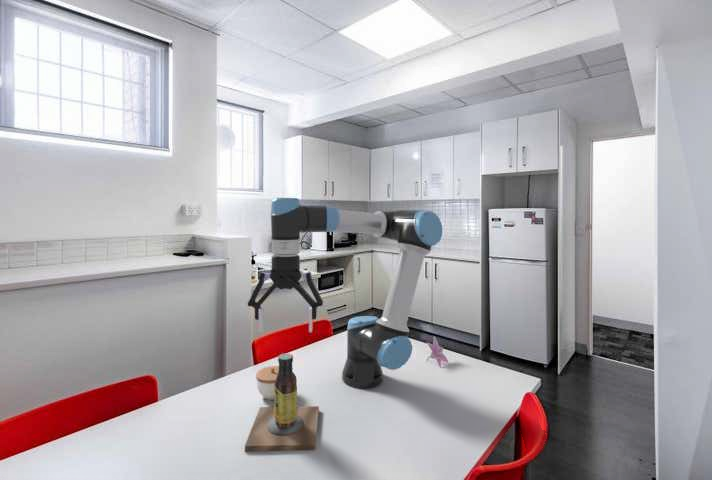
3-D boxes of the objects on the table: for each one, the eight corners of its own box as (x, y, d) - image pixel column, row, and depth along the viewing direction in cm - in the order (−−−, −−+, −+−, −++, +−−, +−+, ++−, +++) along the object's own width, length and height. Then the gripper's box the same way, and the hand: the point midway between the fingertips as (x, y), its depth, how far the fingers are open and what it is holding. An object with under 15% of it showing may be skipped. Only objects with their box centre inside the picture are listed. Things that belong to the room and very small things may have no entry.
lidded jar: (281, 405, 112) (281, 377, 111) (250, 401, 114) (250, 373, 114) (293, 388, 123) (293, 362, 122) (265, 385, 125) (265, 359, 124)
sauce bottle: (276, 416, 103) (275, 350, 101) (297, 416, 103) (297, 350, 102) (272, 430, 96) (272, 360, 95) (296, 429, 97) (295, 359, 95)
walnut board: (318, 410, 109) (319, 405, 109) (315, 450, 91) (315, 443, 91) (260, 411, 108) (260, 406, 108) (244, 451, 90) (244, 444, 90)
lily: (425, 372, 139) (438, 354, 136) (411, 350, 149) (423, 333, 146) (446, 375, 145) (459, 358, 142) (432, 354, 155) (443, 337, 152)
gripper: (235, 256, 91) (236, 335, 93) (331, 256, 93) (330, 335, 95) (242, 252, 99) (244, 326, 101) (331, 253, 100) (331, 325, 102)
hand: (286, 330), depth 98 cm, fingers open, 13 cm apart
